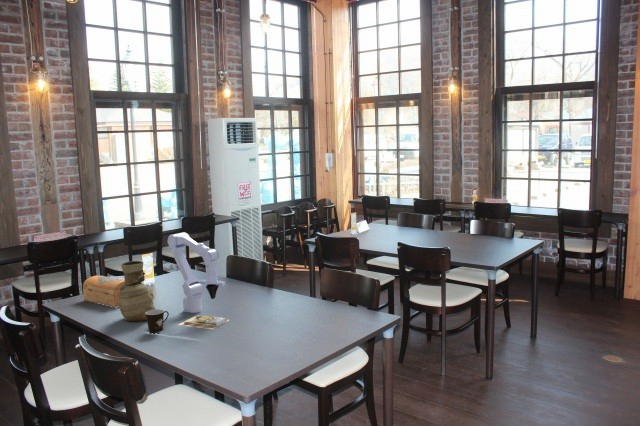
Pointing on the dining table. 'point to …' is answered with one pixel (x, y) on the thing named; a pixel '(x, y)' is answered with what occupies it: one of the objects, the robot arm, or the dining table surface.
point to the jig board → (192, 323)
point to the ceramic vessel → (135, 293)
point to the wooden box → (102, 290)
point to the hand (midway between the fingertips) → (213, 298)
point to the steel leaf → (215, 321)
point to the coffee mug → (155, 320)
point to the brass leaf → (204, 319)
